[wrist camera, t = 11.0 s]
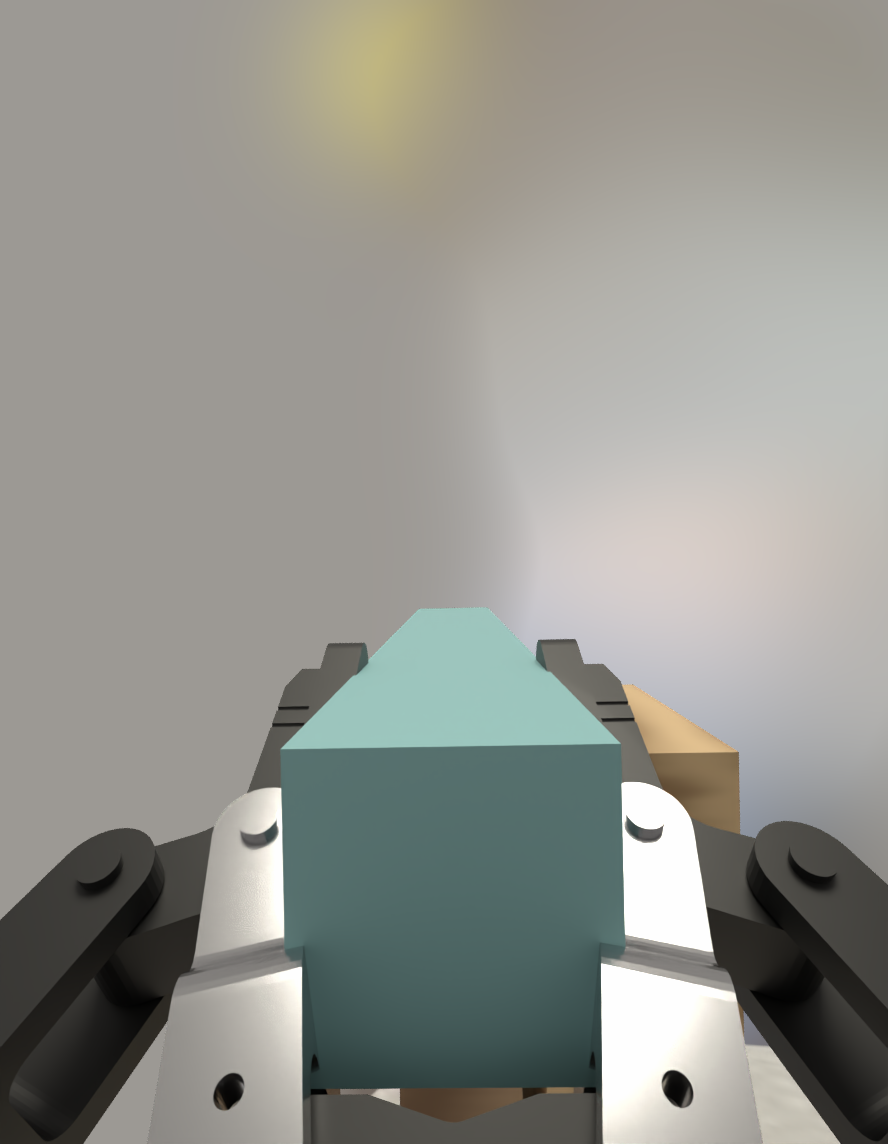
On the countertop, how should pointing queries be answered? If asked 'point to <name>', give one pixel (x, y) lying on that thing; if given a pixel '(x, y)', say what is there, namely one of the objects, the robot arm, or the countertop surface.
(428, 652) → the rail
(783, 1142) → the countertop surface
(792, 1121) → the countertop surface
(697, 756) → the stand
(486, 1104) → the step
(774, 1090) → the countertop surface
